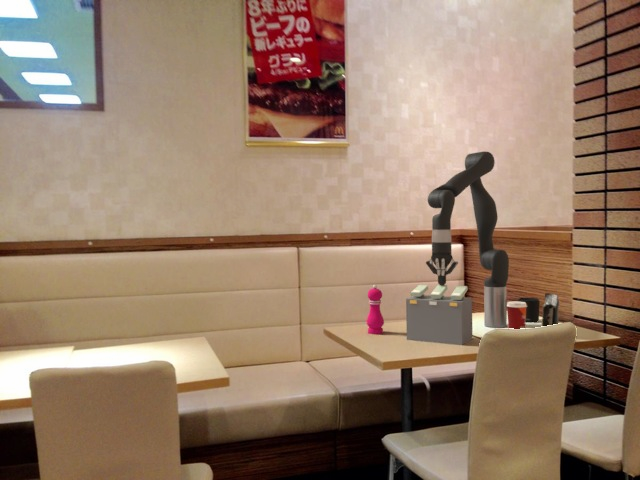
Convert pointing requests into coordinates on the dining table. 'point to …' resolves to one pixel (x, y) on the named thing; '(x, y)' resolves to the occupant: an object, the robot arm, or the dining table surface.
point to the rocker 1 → (419, 290)
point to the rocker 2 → (438, 291)
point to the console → (439, 319)
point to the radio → (550, 310)
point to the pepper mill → (375, 312)
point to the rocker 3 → (458, 292)
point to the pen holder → (531, 309)
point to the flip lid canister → (516, 314)
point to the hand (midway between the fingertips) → (442, 285)
